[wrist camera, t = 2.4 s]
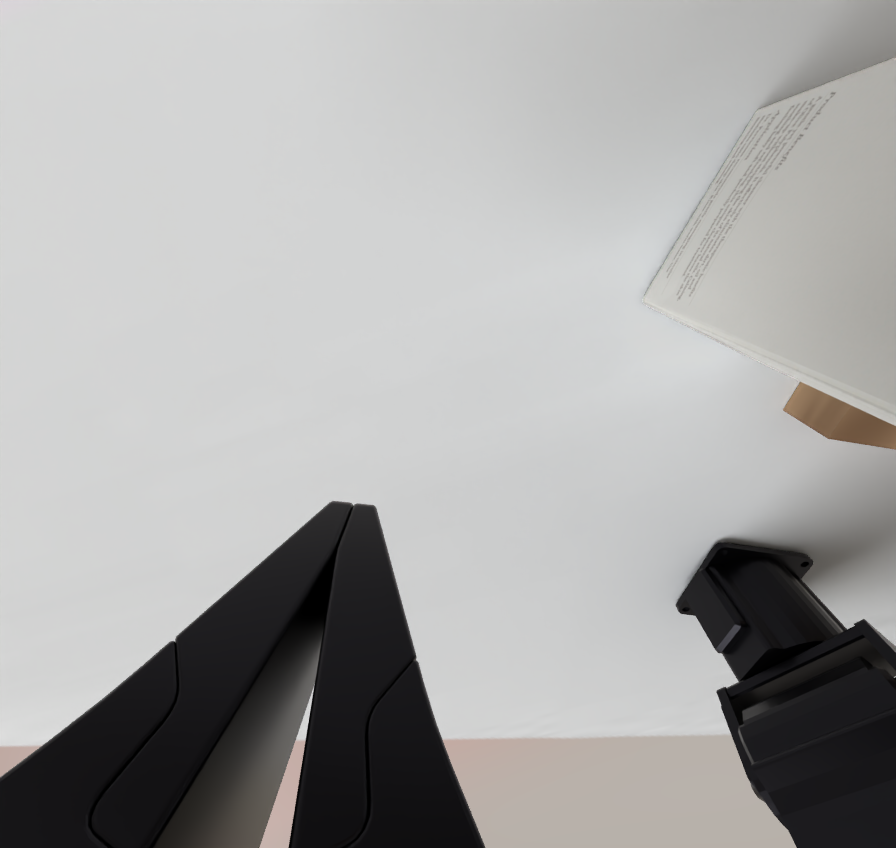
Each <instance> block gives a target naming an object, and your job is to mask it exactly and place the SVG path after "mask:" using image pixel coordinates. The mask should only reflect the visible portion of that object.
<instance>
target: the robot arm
mask: <svg viewBox="0 0 896 848" xmlns="http://www.w3.org/2000/svg"><path fill="white" fill-rule="evenodd" d="M812 565H813V560H812V559H811V558H810V557H809V556H808V555H806V554H801V553H793V552H786V551H779V550H772V549H765V548H758V547H751V546H744V545H737V544H730V543H718V544H716V545H714V547H713V548H712V549H711V551H710V552H709V554H708V556H707V557H706V559H705V560H704V562H703V563H702V565H701V566H700V568H699V569H698V571H697V573H696V574H695V576H694V577H693V579H692V580H691V582H690V583H689V585H688V586H687V588H686V590H685V591H684V593H683V594H682V596H681V597H680V599H679V600H678V602H677V603H676V607H677V609H678V611H679V612H680V613H681V614H687V615H694V616H696V617H697V619H698V621H699V622H700V624H701V626H702V628H703V629H704V631H705V633H706V634H707V636H708V638H709V640H710V641H711V643H712V645H713V646H714V648H715V650H716V651H717V652H718V653H722V654H723V656H724V657H725V659H726V661H727V663H728V664H729V666H730V668H731V669H732V671H733V673H734V674H735V676H736V678H737V679H738V681H739V682H738V683H736V684H734V685H732V686H730V687H728V688H726V687H723V688H721V689H719V690H717V694H718V697H719V700H720V702H721V705H722V706H721V708H722V711H723V713H724V716H725V719H726V721H727V724H728V727H729V729H730V732H731V735H732V737H733V740H734V743H735V745H736V748H737V750H738V753H739V756H740V759H741V761H742V764H743V767H744V769H745V772H746V775H747V777H748V779H749V781H750V783H751V787H752V789H753V791H754V792H755V794H756V795H757V797H758V798H759V799H761V800H762V801H764V802H765V803H766V804H767V805H768V807H769V808H770V810H771V811H772V812H773V814H774V815H775V816H776V817H777V818H778V820H779V821H780V822H781V823H782V824H783V825H784V826H785V827H786V828H787V829H788V830H789V832H790V834H791V836H792V838H793V841H794V843H795V845H796V847H797V848H896V677H895V676H896V646H895V645H893V644H892V643H891V642H890V641H889V640H888V639H886V638H885V637H884V636H883V635H882V634H881V633H880V632H878V631H877V630H876V629H875V628H874V627H873V626H872V625H870V624H869V623H868V622H867V621H866V620H865V619H863V620H861V621H859V622H857V623H855V624H854V625H855V626H854V627H852V628H850V629H848V630H847V629H846V628H845V627H844V626H843V624H842V623H841V622H840V621H839V620H838V619H837V618H836V617H835V616H834V615H833V614H832V612H831V611H830V610H829V609H828V608H827V607H826V606H825V605H824V604H823V603H822V602H821V600H820V599H819V598H818V597H817V596H816V595H815V594H814V593H813V592H812V591H811V590H810V589H809V587H808V586H807V585H806V584H805V583H804V582H803V581H802V580H801V578H802V577H803V576H804V575H805V573H806V572H807V571H808V570H809V569H810V567H811V566H812ZM175 642H176V643H175ZM175 642H174V641H171V642H169V643H168V644H167V645H166V646H165V647H163V648H162V649H161V650H160V651H159V652H158V653H156V654H155V655H154V656H153V657H152V658H151V659H150V660H148V661H147V662H146V663H145V664H144V665H143V666H141V667H140V668H139V669H138V670H137V671H135V672H134V673H133V674H132V675H131V676H129V677H128V678H127V679H126V680H125V681H123V682H122V683H121V684H120V685H119V686H118V687H116V688H115V689H114V690H113V691H112V692H110V693H109V694H108V695H107V696H106V697H104V698H103V699H102V700H101V701H99V702H98V703H97V704H95V705H94V706H93V707H92V708H90V709H89V710H88V711H86V712H85V713H84V714H83V715H81V716H80V717H79V718H77V719H76V720H75V721H74V722H72V723H71V724H70V725H68V726H67V727H66V728H65V729H63V730H62V731H61V732H60V733H58V734H57V735H56V736H54V737H53V738H52V739H51V740H49V741H48V742H47V743H45V744H44V745H43V746H41V747H40V748H39V749H37V750H36V751H35V752H33V753H32V754H31V755H29V756H28V757H27V758H25V759H24V760H23V761H21V762H20V763H19V764H17V765H16V766H15V767H13V768H12V769H11V770H9V771H8V772H7V773H5V774H4V775H3V776H1V777H0V848H259V847H260V844H261V841H262V838H263V835H264V832H265V829H266V826H267V823H268V820H269V817H270V814H271V811H272V808H273V805H274V802H275V799H276V796H277V793H278V790H279V787H280V784H281V782H282V779H283V776H284V773H285V770H286V766H287V764H288V760H289V758H290V755H291V752H292V749H293V745H294V743H295V740H296V737H297V734H298V731H299V728H300V725H301V722H302V719H303V716H304V713H305V710H306V707H307V704H308V701H309V699H310V696H311V693H312V690H313V687H314V692H313V698H312V705H311V711H310V717H309V723H308V730H307V736H306V742H305V748H304V755H303V761H302V767H301V773H300V780H299V786H298V792H297V799H296V805H295V812H294V818H293V824H292V830H291V836H290V842H289V848H485V846H484V843H483V841H482V838H481V836H480V833H479V831H478V828H477V826H476V824H475V821H474V819H473V816H472V814H471V811H470V809H469V806H468V804H467V802H466V799H465V797H464V794H463V792H462V789H461V787H460V785H459V782H458V779H457V777H456V774H455V772H454V770H453V767H452V764H451V762H450V759H449V756H448V754H447V751H446V748H445V746H444V743H443V740H442V737H441V735H440V732H439V729H438V727H437V724H436V721H435V718H434V715H433V711H432V708H431V705H430V702H429V698H428V695H427V692H426V688H425V685H424V682H423V678H422V674H421V671H420V667H419V663H418V661H416V653H415V649H414V646H413V642H412V638H411V635H410V631H409V627H408V624H407V620H406V616H405V613H404V609H403V605H402V601H401V598H400V594H399V590H398V587H397V583H396V579H395V576H394V572H393V568H392V565H391V561H390V557H389V553H388V550H387V546H386V542H385V539H384V535H383V531H382V528H381V524H380V520H379V517H378V513H377V509H376V507H375V506H374V505H367V504H355V505H354V506H353V504H352V503H348V502H339V501H332V502H330V503H329V504H328V505H327V506H325V507H324V508H323V509H322V510H321V511H320V512H319V513H317V514H316V515H315V516H314V517H313V518H312V519H310V520H309V521H308V522H307V523H306V524H305V525H304V526H302V527H301V528H300V529H299V530H298V531H297V532H296V533H294V534H293V535H292V536H291V537H290V538H289V539H288V540H286V541H285V542H284V543H283V544H282V545H281V546H280V547H278V548H277V549H276V550H275V551H274V552H273V553H271V554H270V555H269V556H268V557H267V558H266V559H265V560H263V561H262V562H261V563H260V564H259V565H258V566H257V567H255V568H254V569H253V570H252V571H251V572H250V573H249V574H247V575H246V576H245V577H244V578H243V579H242V580H241V581H239V582H238V583H237V584H236V585H235V586H234V587H233V588H231V589H230V590H229V591H228V592H227V593H226V594H224V595H223V596H222V597H221V598H220V599H219V600H218V601H216V602H215V603H214V604H213V605H212V606H211V607H210V608H208V609H207V610H206V611H205V612H204V613H203V614H202V615H200V616H199V617H198V618H197V619H196V620H195V621H194V622H192V623H191V624H190V625H189V626H188V627H187V628H185V629H184V630H183V631H182V632H181V633H180V634H179V635H177V636H176V639H175ZM894 677H895V678H894ZM314 684H315V686H314Z"/></svg>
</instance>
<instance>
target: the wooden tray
mask: <svg viewBox="0 0 896 848" xmlns="http://www.w3.org/2000/svg"><path fill="white" fill-rule="evenodd" d="M783 411H785V412H787V413H788V414H790V415H791V416H793V417H795V418H796V419H798V420H799V421H801V422H802V423H804V424H806V425H807V426H809V427H810V428H812V429H814V430H815V431H817V432H818V433H820V434H822V435H823V436H825V437H826V438H828V439H834V440H840V441H846V442H852V443H859V444H865V445H871V446H877V447H884V448H890V449H896V426H894V425H892V424H890V423H888V422H886V421H884V420H882V419H879V418H877V417H875V416H873V415H871V414H869V413H867V412H865V411H862V410H860V409H858V408H856V407H854V406H852V405H850V404H847V403H845V402H843V401H841V400H839V399H837V398H835V397H832V396H830V395H828V394H826V393H824V392H822V391H819V390H817V389H815V388H813V387H811V386H809V385H807V384H804V383H802V382H800V384H799V385H798V387H797V388H796V390H795V392H794V393H793V395H792V396H791V398H790V400H789V401H788V403H787V404H786V406H785V408H784V409H783Z"/></svg>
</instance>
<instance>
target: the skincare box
mask: <svg viewBox="0 0 896 848" xmlns="http://www.w3.org/2000/svg"><path fill="white" fill-rule="evenodd" d="M643 303H644V304H645V305H646V306H648V307H650V308H652V309H654V310H656V311H658V312H660V313H662V314H664V315H666V316H668V317H670V318H671V319H673V320H675V321H677V322H679V323H681V324H683V325H685V326H687V327H689V328H691V329H693V330H695V331H697V332H699V333H701V334H703V335H705V336H707V337H709V338H711V339H713V340H715V341H717V342H719V343H721V344H723V345H725V346H727V347H729V348H731V349H733V350H735V351H737V352H739V353H741V354H743V355H745V356H747V357H749V358H751V359H753V360H755V361H757V362H760V363H762V364H764V365H766V366H768V367H770V368H772V369H774V370H776V371H779V372H781V373H783V374H785V375H787V376H789V377H791V378H794V379H796V380H798V381H800V382H802V383H804V384H807V385H809V386H811V387H813V388H815V389H817V390H819V391H822V392H824V393H826V394H828V395H830V396H832V397H835V398H837V399H839V400H841V401H843V402H845V403H847V404H850V405H852V406H854V407H856V408H858V409H860V410H862V411H865V412H867V413H869V414H871V415H873V416H875V417H877V418H879V419H882V420H884V421H886V422H888V423H890V424H892V425H894V426H896V57H895V58H892V59H889V60H887V61H884V62H881V63H879V64H876V65H873V66H871V67H868V68H865V69H863V70H860V71H858V72H855V73H852V74H850V75H847V76H844V77H842V78H839V79H836V80H833V81H831V82H828V83H826V84H823V85H821V86H818V87H816V88H813V89H810V90H807V91H805V92H802V93H800V94H797V95H794V96H792V97H789V98H786V99H784V100H781V101H779V102H776V103H773V104H771V105H768V106H766V107H763V108H760V109H758V110H757V111H756V112H755V114H754V116H753V117H752V119H751V120H750V122H749V124H748V125H747V127H746V129H745V130H744V132H743V134H742V135H741V137H740V138H739V140H738V142H737V143H736V145H735V147H734V148H733V150H732V152H731V153H730V155H729V156H728V158H727V160H726V161H725V163H724V165H723V166H722V168H721V170H720V171H719V173H718V174H717V176H716V178H715V179H714V181H713V183H712V184H711V186H710V188H709V189H708V191H707V192H706V194H705V196H704V197H703V199H702V201H701V202H700V204H699V206H698V207H697V209H696V211H695V212H694V214H693V215H692V217H691V219H690V220H689V222H688V224H687V225H686V227H685V229H684V230H683V232H682V234H681V235H680V237H679V239H678V240H677V242H676V243H675V245H674V247H673V249H672V250H671V252H670V254H669V255H668V257H667V259H666V260H665V262H664V264H663V265H662V267H661V268H660V270H659V272H658V273H657V275H656V277H655V278H654V280H653V282H652V283H651V285H650V287H649V288H648V290H647V292H646V294H645V295H644V297H643Z"/></svg>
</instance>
